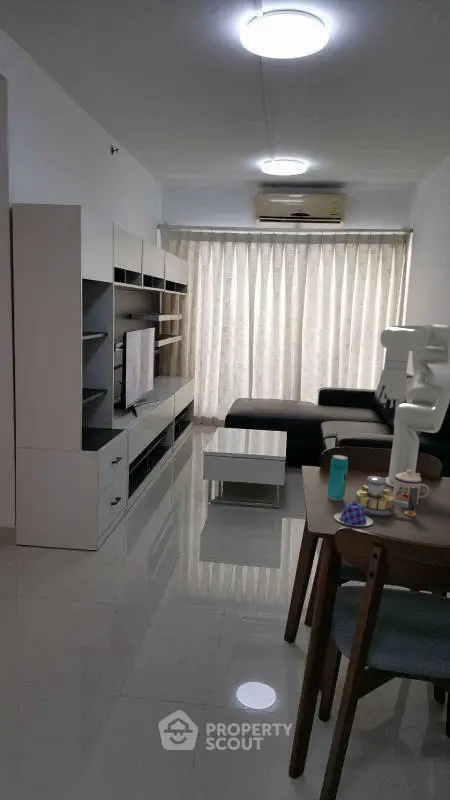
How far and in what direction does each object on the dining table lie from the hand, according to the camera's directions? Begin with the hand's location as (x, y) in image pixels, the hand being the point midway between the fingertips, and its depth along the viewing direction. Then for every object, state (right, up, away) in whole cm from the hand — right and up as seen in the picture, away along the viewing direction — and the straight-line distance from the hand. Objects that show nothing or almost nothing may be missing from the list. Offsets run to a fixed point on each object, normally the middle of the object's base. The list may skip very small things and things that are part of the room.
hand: (389, 418), depth 210 cm
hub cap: (-7, -30, -7) cm, 32 cm away
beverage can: (-18, -28, +2) cm, 33 cm away
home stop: (+5, -31, -8) cm, 33 cm away
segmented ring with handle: (-3, -28, -8) cm, 30 cm away
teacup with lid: (+8, -30, +5) cm, 31 cm away
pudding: (-16, -32, -18) cm, 40 cm away
